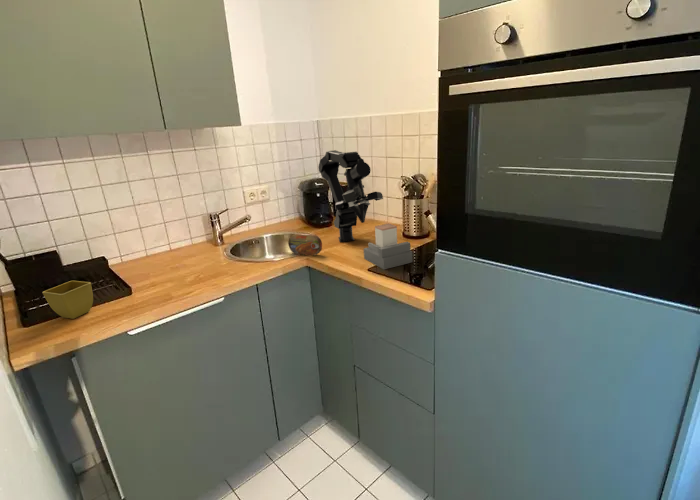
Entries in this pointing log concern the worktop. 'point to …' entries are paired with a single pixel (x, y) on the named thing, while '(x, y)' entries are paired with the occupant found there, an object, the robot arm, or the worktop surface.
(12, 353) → the worktop surface
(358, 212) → the robot arm
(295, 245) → the tin
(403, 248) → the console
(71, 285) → the flower pot
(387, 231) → the white block
